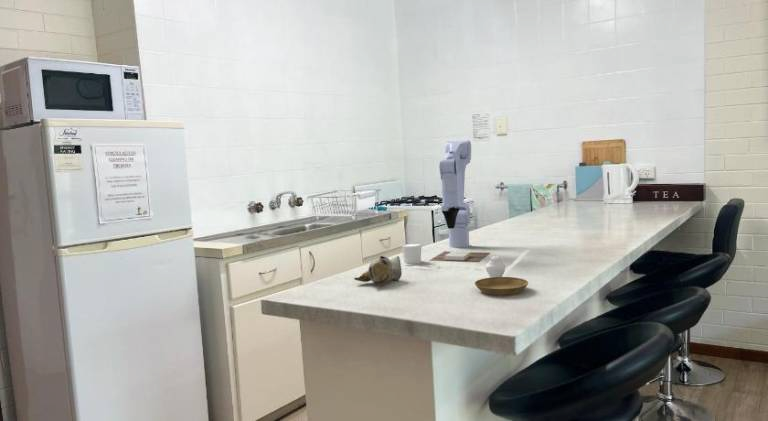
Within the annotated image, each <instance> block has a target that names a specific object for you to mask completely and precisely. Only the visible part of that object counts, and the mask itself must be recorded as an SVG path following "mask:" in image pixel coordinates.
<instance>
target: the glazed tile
mask: <svg viewBox="0 0 768 421" xmlns="http://www.w3.org/2000/svg"><path fill="white" fill-rule="evenodd" d="M449 252H450V253H448V254H447V255H445V260H450V261H449V262H453V261H464V260H466V259H467V258H469V257H470V256H471V252H472V251H458V250H456V251H455V250H452V251H449Z"/></svg>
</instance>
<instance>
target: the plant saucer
mask: <svg viewBox="0 0 768 421" xmlns="http://www.w3.org/2000/svg"><path fill="white" fill-rule="evenodd" d="M528 284H529V281H528V280H526V279H523V278H519V277H515V276H514V277H513V276H502V277H491V278H490V277H483V278H480V279H477V280H476V281H474V285H475V286H476V287H477V289H478V290H480V292H482V293H484V294H486V295H489V296H490V295H491V296H500V297H501V296H502V295H503V296H512V295H513V294H514V295H518V294H521V292H523V291H524V290H525V288H526V287H527V286H528Z"/></svg>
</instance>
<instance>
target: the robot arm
mask: <svg viewBox="0 0 768 421" xmlns="http://www.w3.org/2000/svg"><path fill="white" fill-rule="evenodd" d="M471 160H472V142H471V141H470V140H469V139H468V140H456V141H453V140H452V141H447V142H446V143H445V156H444V158H443V159H442V160H440V161H439V165H438V166H439V167H438V168H439V174H440V181H441V194H442V195H441V196H442V197H441V198H442V201H441V202H442V203H439V206H440V207H441V212H442V215H443V219H444V220H443V222H444V224H445V226H447V229H448V244H449V245H448V246H449V248H452V249H459V248H460V249H461V248H466V247H472V244H470V231H469V228H468V226H469V225H470V224H471V208H470V206H469V205H468V204H467V203H466V202H465V201H464V199H465V198H464V197H465V182H466V181H465V178H466V177H465V176H466V170H467V169H466V168H467V166H468V164H470V163H471Z"/></svg>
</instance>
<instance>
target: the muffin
mask: <svg viewBox="0 0 768 421" xmlns="http://www.w3.org/2000/svg"><path fill="white" fill-rule="evenodd" d="M484 268H485V270H486V272H487V274H488V276H489V278H491V277H504V273H505V271H506V268H507V266H506V264H505V263H504V262H503V260H502V258H501V257H500V256H498V255H494V256H490V258H489V261H488V262H487V263H486V264H485V267H484Z"/></svg>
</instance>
